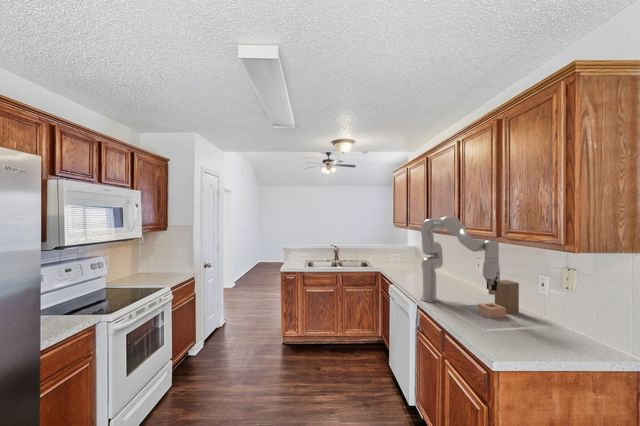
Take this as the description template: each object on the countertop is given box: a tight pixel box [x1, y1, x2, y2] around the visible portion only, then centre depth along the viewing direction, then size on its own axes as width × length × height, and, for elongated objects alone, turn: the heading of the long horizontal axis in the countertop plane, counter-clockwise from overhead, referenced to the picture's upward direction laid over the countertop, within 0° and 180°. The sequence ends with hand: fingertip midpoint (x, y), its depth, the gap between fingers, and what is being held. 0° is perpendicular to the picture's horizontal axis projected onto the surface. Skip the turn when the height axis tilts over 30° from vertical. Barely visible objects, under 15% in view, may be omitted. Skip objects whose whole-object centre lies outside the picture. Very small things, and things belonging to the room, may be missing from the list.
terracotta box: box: [477, 302, 507, 319], centre depth 190 cm, size 11×11×6 cm
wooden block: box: [494, 279, 520, 315], centre depth 197 cm, size 10×10×20 cm
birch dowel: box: [488, 279, 495, 296], centre depth 190 cm, size 4×4×10 cm
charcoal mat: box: [459, 304, 510, 320], centre depth 197 cm, size 26×17×1 cm, turn 8°
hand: (491, 289), depth 190 cm, fingers closed on birch dowel, 3 cm apart
